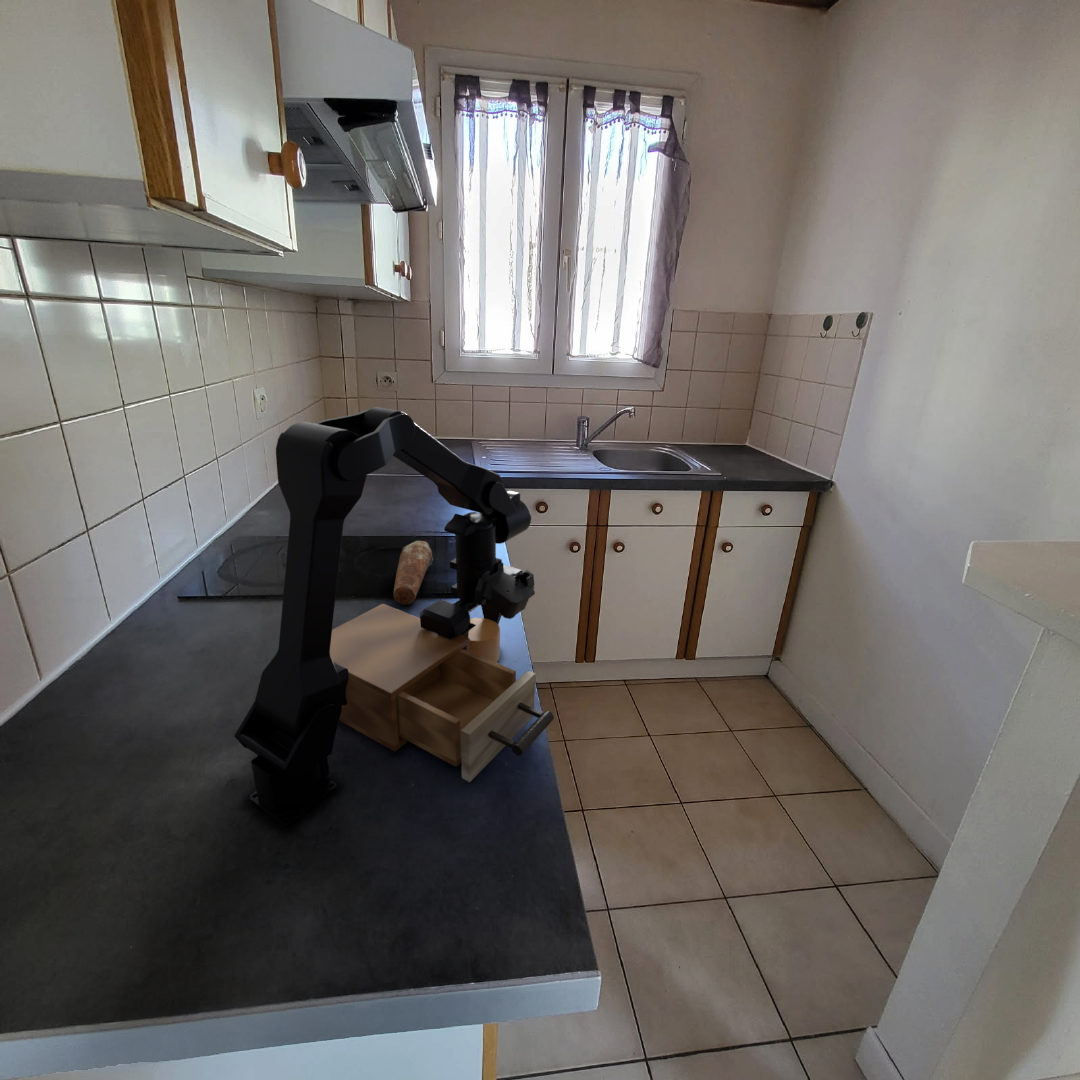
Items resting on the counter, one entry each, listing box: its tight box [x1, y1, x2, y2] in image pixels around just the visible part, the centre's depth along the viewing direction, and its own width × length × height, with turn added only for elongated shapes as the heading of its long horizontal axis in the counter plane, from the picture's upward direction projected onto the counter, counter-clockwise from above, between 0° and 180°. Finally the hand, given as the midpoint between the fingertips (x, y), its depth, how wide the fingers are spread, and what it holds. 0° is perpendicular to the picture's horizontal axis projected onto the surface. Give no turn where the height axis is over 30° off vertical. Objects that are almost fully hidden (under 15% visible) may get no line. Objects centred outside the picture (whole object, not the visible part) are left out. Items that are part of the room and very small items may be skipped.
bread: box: [392, 540, 433, 606], centre depth 107 cm, size 6×19×6 cm, turn 2°
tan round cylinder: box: [468, 617, 501, 663], centre depth 86 cm, size 7×7×5 cm
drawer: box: [396, 649, 555, 783], centre depth 69 cm, size 20×13×7 cm, turn 58°
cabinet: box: [330, 603, 470, 753], centre depth 75 cm, size 17×15×9 cm
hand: (477, 645), depth 86 cm, fingers closed on tan round cylinder, 7 cm apart
